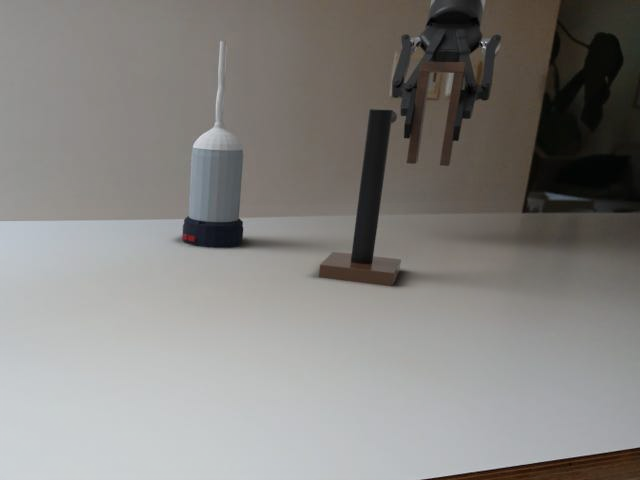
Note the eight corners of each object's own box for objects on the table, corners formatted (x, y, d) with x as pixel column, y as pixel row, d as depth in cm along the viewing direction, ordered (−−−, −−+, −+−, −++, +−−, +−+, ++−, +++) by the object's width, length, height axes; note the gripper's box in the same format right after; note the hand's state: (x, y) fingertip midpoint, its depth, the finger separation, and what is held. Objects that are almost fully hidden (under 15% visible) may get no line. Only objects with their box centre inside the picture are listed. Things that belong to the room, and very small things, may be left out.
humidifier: (174, 244, 98) (183, 38, 89) (191, 234, 105) (201, 43, 96) (234, 250, 95) (249, 39, 87) (248, 239, 103) (262, 44, 94)
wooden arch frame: (450, 163, 105) (465, 63, 100) (448, 165, 101) (465, 62, 97) (408, 161, 107) (422, 63, 102) (406, 163, 103) (420, 61, 99)
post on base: (404, 261, 93) (427, 109, 87) (391, 286, 80) (417, 111, 74) (340, 253, 96) (357, 106, 89) (318, 277, 83) (337, 108, 77)
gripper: (521, 32, 108) (502, 155, 99) (389, 32, 115) (361, 147, 106) (530, -13, 102) (511, 114, 93) (390, -10, 108) (360, 109, 100)
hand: (431, 132), depth 100 cm, fingers closed on wooden arch frame, 6 cm apart
